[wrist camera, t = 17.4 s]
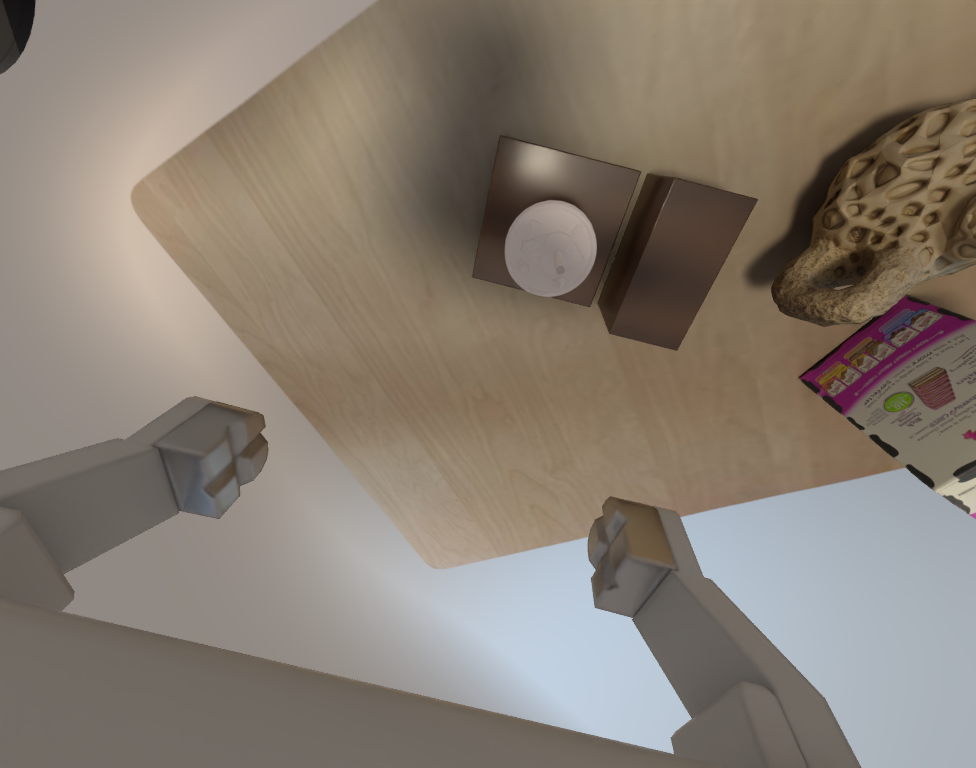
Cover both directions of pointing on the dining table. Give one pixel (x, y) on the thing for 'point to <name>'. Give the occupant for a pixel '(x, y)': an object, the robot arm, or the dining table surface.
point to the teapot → (889, 221)
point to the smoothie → (550, 248)
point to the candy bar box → (912, 392)
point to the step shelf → (645, 245)
